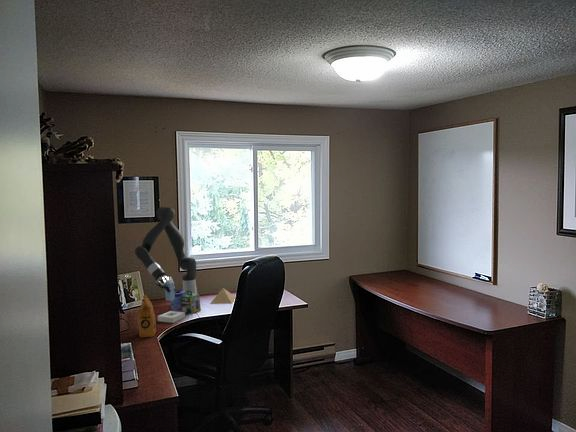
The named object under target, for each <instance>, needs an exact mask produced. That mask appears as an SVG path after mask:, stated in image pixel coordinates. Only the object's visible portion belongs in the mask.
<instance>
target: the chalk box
mask: <svg viewBox="0 0 576 432" xmlns="http://www.w3.org/2000/svg"><path fill="white" fill-rule="evenodd" d="M186 291H187V294H186V295H183V296H181V305H182V310H181V312H185V314H188V315H189V314H190V315H193V314H195V313H197V312H200V311H201V300H200V299H201V297H200V296H201V295H200V294H199V293H197V294H194V293H192V292H191V291H189V290H186ZM188 292H190V294H189V293H188Z"/></svg>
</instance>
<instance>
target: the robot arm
mask: <svg viewBox="0 0 576 432" xmlns="http://www.w3.org/2000/svg"><path fill="white" fill-rule="evenodd" d="M175 215H176V212H175V209H173V208H172V207H170V206H169V207H168V206H160V207H158V209H157V211H156V216H157V218H158V220H159V222H158V223H156V224H155V225H154V226H153V227H152V228H150V230H149V231H148V232H147V233H146V235H145V236H144V237H143V240H142V243H141V244H142V245H140V246H137V247H136V248H135V250H134V253H135V254H134V255H135V256H136V258H137V259H139V260H140V261H141V262H142V264H143V266H144V267H145V268H146V270H147V271H148V273H149V274H150V275H151V276H152V278H153V279H154V280H155V282H154V284H155V285H156V286H158V288H160V289H164V290H165V289H166V291H167V292H168V293H170V292H171V290H170V289H169V287H168V286H167V285H166V280H168V279H172V281H173V282H174V283H175V281H174V280H173V277H172V276H171V275H170V276H167V275H166V271H164V269H163V268H162V267H161V265H160V264H159V263H157V262H156V260H155V259H154V258H153V257H152V256H151V254H150V252H151V250H152V246H154V244H155V242H156V240H158V238H159V236H160V235H161V233H162V232H164V231H165V234H166V235H167V237H168V241H169V244H170V245H171V246H172V249H173V251H174V253H175V257H176V260H177V262H178V266H179V267H180V270H184V271H186V273H185V274H184V275H183V276H182V289H183V290H182V291H184V292H186V294H187V291H186V290H189V291H191V292H192V293H194V294H198V288H197V282H196V281H197V279H196V277H197V261H196V258H194V257H188V256H186V255H185V252H184V247H185V240H184V239H185V238H184V237H183V235H182V233H181V231H180V230H179V229H178V228H177V226H175V224H174V223H173V221H172V220H174V218H175ZM175 291H177V290H176V287H175V286H174V292H175ZM188 293H189V294H190V292H188Z"/></svg>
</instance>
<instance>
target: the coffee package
mask: <svg viewBox="0 0 576 432" xmlns="http://www.w3.org/2000/svg"><path fill="white" fill-rule="evenodd" d="M142 297H143V299H141V305H140V306H139V308H138V309H139V310H138V317H137V326H138V333H139V337H140V338H141V339H142V338H150V337H154V336H155V335H156V333H157V323H156V314H155V310H154V306H153V303H152V301H151V300H150V299H149V298H148V296H147V294H144V295H143V296H142Z"/></svg>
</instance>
